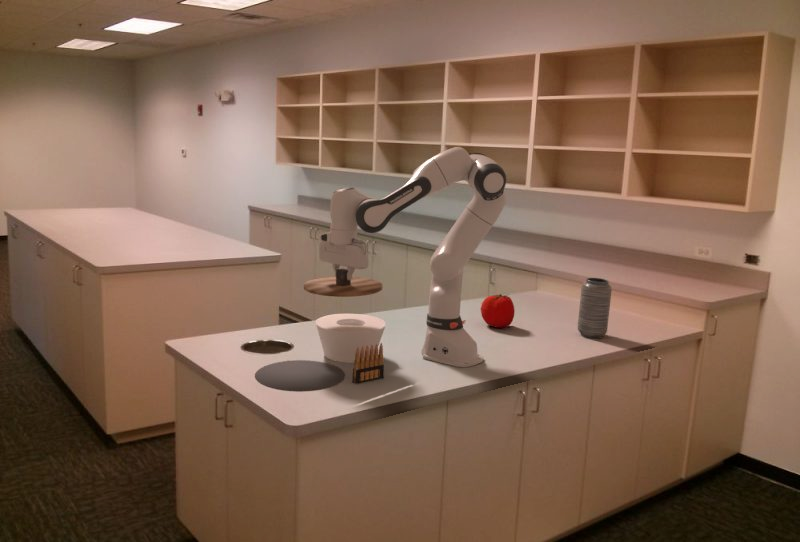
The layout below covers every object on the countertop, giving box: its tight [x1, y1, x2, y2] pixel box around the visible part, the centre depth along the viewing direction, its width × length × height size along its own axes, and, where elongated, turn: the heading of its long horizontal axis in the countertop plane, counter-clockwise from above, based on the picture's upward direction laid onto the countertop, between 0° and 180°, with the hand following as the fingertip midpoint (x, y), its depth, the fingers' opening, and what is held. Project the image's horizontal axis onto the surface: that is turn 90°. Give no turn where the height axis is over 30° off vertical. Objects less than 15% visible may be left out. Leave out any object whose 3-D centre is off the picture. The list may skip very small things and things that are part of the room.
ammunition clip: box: [352, 342, 385, 385], centre depth 212 cm, size 11×2×12 cm, turn 127°
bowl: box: [315, 313, 387, 364], centre depth 236 cm, size 24×24×12 cm
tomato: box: [480, 293, 516, 329], centre depth 283 cm, size 16×14×14 cm
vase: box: [577, 277, 613, 339], centre depth 275 cm, size 12×12×23 cm
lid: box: [303, 268, 383, 298], centre depth 227 cm, size 26×26×6 cm
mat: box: [254, 359, 346, 392], centre depth 215 cm, size 28×28×1 cm
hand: (343, 278), depth 227 cm, fingers closed on lid, 3 cm apart
